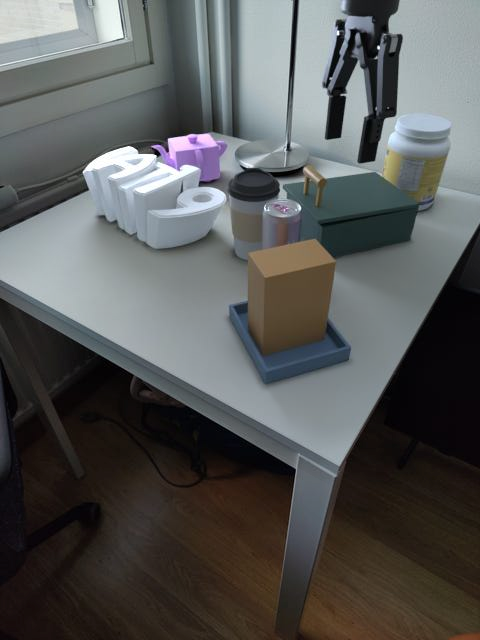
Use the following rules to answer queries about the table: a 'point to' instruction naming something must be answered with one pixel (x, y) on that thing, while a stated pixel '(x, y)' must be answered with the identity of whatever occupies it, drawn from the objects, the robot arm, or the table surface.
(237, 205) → the coffee cup
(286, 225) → the beverage can
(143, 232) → the white letter sculpture
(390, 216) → the box
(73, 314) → the table surface
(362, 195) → the lid
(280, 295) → the packet
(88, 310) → the table surface
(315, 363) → the tray
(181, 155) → the teapot
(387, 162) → the supplement tub
